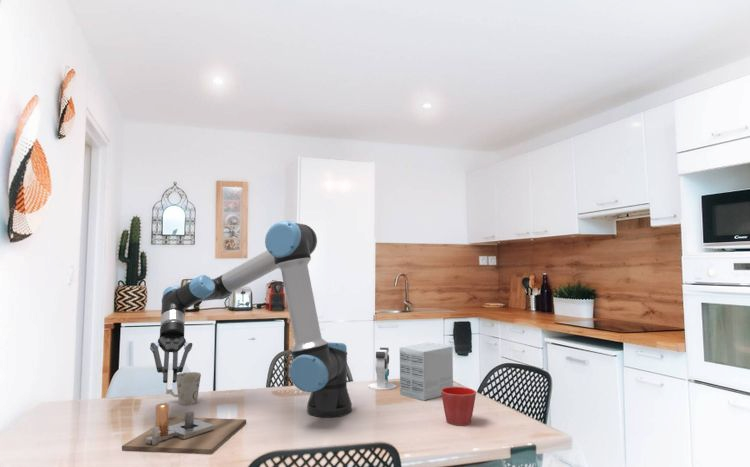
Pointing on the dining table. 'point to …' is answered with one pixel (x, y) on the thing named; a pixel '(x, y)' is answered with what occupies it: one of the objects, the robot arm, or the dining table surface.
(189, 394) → the mug
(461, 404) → the flower pot
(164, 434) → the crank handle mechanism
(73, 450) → the dining table surface
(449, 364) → the gray vented cabinet
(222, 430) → the post board
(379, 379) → the white grey upright piece
